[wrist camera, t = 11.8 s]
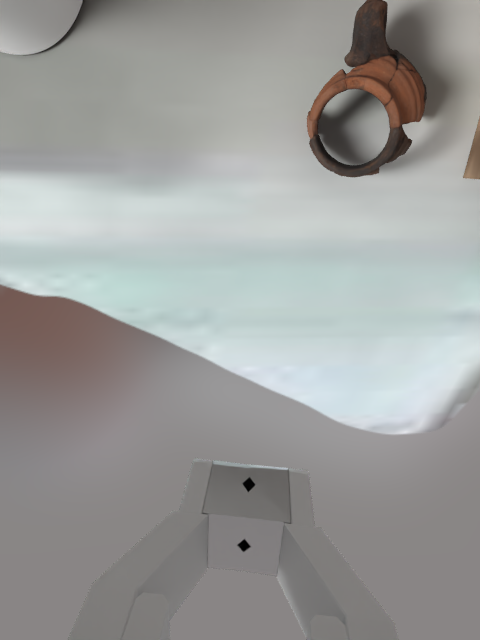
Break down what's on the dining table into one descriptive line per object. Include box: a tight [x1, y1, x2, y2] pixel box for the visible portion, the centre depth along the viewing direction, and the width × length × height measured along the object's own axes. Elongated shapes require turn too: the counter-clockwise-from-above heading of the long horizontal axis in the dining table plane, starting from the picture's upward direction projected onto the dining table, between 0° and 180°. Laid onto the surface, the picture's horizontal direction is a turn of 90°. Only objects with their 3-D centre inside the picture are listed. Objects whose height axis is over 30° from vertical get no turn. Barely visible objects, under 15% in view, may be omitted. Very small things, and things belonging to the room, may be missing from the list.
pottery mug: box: [307, 0, 427, 177], centre depth 30 cm, size 12×10×8 cm
